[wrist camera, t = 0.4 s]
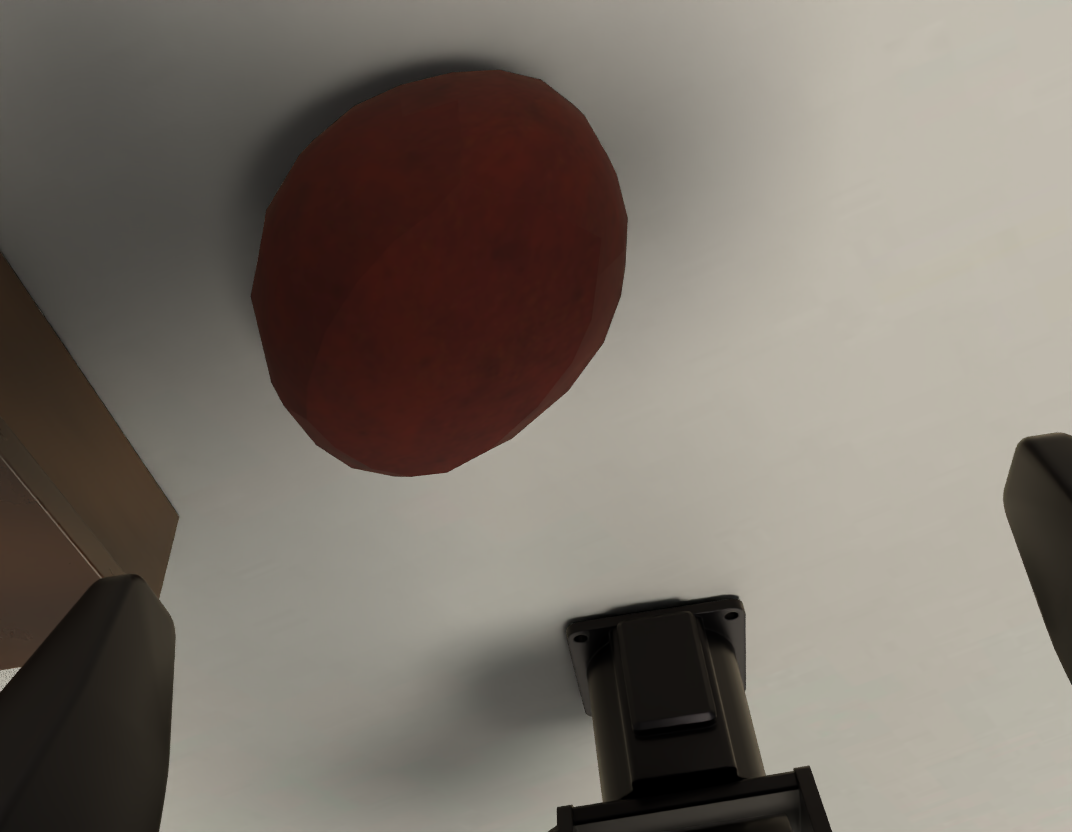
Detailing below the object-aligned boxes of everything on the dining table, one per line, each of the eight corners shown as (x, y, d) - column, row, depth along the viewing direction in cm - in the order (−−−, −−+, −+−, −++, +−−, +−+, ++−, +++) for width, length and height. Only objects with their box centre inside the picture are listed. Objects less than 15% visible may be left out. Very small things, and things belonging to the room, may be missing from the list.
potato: (681, 106, 21) (746, 272, 17) (466, 402, 27) (472, 583, 23) (376, -68, 18) (357, 80, 14) (208, 307, 24) (158, 494, 20)
